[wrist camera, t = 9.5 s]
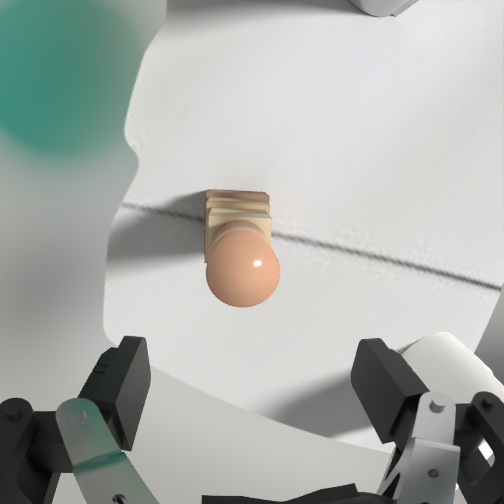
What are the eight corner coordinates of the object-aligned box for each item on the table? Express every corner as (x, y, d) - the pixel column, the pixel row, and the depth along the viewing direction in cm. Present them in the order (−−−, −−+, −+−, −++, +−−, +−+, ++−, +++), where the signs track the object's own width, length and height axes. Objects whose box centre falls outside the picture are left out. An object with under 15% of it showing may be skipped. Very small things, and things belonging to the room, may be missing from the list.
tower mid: (264, 199, 34) (269, 205, 29) (260, 251, 35) (265, 265, 31) (209, 196, 33) (206, 202, 28) (207, 249, 35) (204, 263, 30)
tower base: (264, 192, 38) (269, 196, 34) (260, 245, 40) (264, 256, 36) (209, 189, 38) (206, 193, 33) (207, 243, 40) (204, 254, 35)
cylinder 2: (365, 401, 50) (417, 501, 27) (420, 321, 46) (509, 409, 22) (423, 409, 54) (475, 484, 30) (471, 341, 50) (543, 408, 26)
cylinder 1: (269, 220, 24) (282, 238, 18) (266, 275, 26) (277, 307, 20) (211, 219, 24) (205, 236, 18) (211, 274, 25) (206, 306, 19)
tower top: (264, 209, 29) (272, 218, 24) (261, 259, 30) (267, 278, 26) (212, 207, 29) (208, 215, 24) (210, 257, 30) (207, 275, 25)
